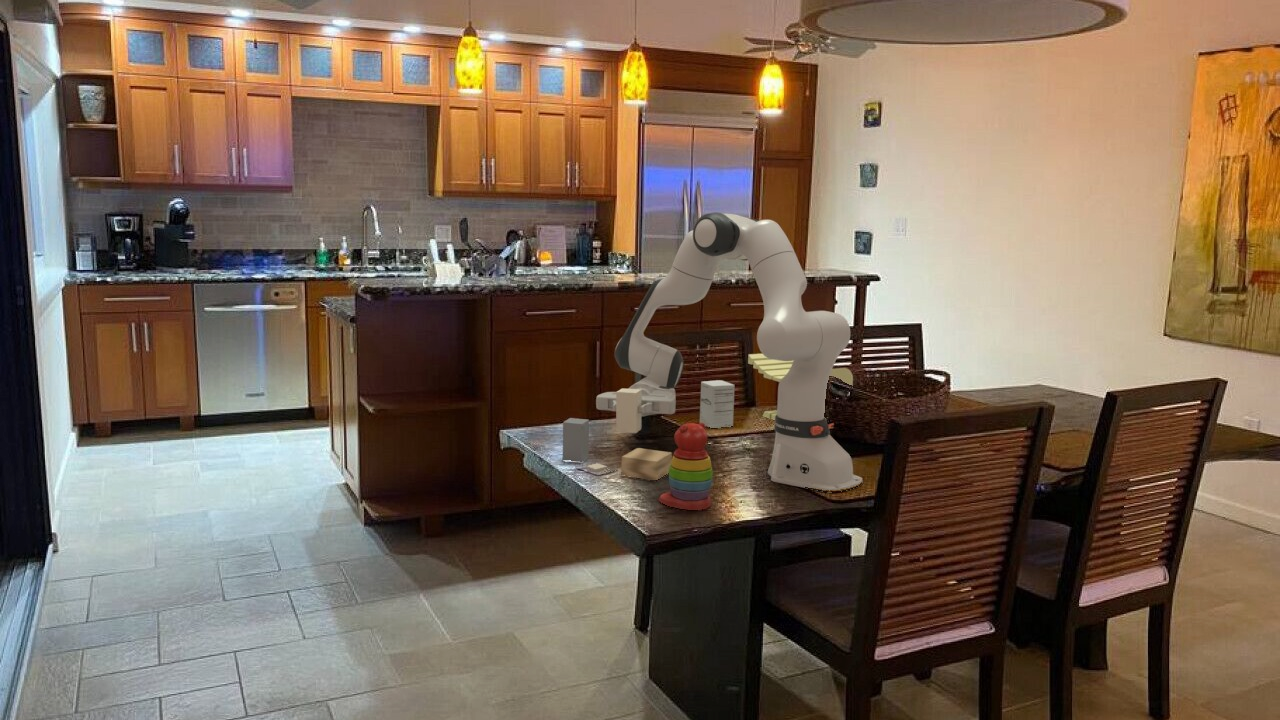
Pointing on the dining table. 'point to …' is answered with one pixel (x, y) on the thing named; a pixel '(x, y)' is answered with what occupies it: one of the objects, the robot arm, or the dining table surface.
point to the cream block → (628, 410)
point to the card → (599, 467)
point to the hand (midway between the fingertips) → (628, 409)
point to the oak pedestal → (646, 463)
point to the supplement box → (717, 404)
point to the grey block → (575, 439)
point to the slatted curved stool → (781, 368)
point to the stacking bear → (689, 470)
